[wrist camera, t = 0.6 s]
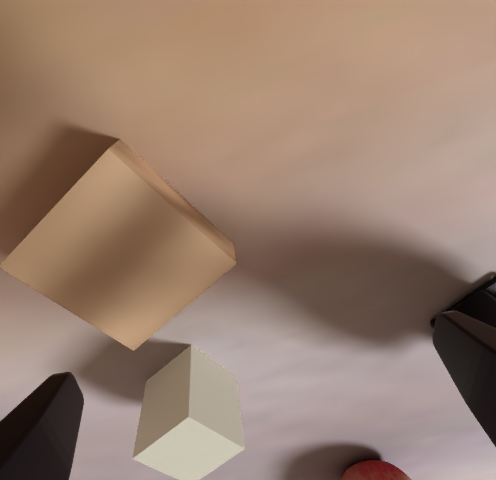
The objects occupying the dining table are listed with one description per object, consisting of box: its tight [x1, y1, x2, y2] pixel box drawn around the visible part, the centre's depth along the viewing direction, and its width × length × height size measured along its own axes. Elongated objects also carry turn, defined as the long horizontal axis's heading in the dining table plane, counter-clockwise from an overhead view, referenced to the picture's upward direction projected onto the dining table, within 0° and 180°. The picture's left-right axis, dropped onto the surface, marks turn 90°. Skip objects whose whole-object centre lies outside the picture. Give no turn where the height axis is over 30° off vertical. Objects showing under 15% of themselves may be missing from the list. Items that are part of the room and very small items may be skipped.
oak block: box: [0, 140, 237, 351], centre depth 20 cm, size 9×9×3 cm
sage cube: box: [132, 345, 245, 480], centre depth 24 cm, size 5×5×6 cm
